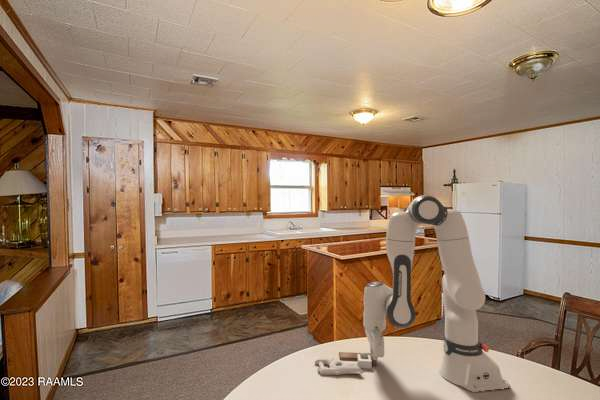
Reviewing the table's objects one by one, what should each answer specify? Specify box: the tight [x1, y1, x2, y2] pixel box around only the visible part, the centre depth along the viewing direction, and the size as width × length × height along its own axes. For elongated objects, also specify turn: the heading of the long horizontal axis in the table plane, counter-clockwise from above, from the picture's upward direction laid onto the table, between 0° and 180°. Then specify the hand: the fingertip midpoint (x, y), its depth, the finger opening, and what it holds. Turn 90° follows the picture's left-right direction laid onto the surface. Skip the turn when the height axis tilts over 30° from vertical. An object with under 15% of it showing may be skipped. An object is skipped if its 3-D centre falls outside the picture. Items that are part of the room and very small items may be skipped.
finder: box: [356, 354, 372, 370], centre depth 117 cm, size 5×5×3 cm
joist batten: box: [338, 351, 371, 361], centre depth 122 cm, size 14×4×1 cm, turn 87°
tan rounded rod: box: [370, 348, 378, 367], centre depth 118 cm, size 3×3×9 cm
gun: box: [314, 356, 364, 376], centre depth 114 cm, size 18×3×10 cm
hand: (373, 356), depth 118 cm, fingers closed on tan rounded rod, 3 cm apart
